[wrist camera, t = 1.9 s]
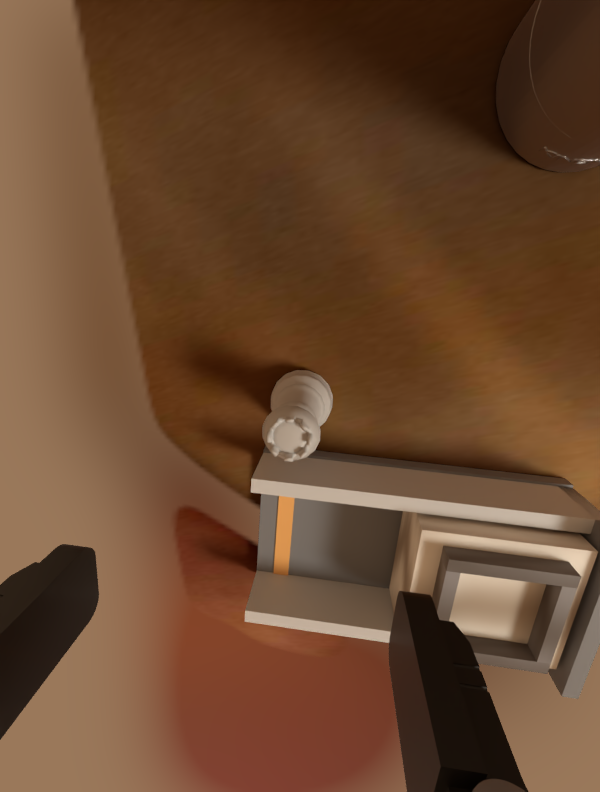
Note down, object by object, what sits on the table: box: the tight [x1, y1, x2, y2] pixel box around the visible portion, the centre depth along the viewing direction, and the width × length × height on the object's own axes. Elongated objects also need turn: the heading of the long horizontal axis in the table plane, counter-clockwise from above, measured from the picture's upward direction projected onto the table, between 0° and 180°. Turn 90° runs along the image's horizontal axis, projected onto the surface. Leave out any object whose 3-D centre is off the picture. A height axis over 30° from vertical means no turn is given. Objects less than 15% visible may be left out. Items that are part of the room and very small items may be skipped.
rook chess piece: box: [262, 370, 333, 462], centre depth 23 cm, size 4×4×8 cm
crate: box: [389, 511, 598, 674], centre depth 25 cm, size 9×10×6 cm
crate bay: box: [245, 446, 600, 699], centre depth 26 cm, size 12×22×7 cm, turn 85°
